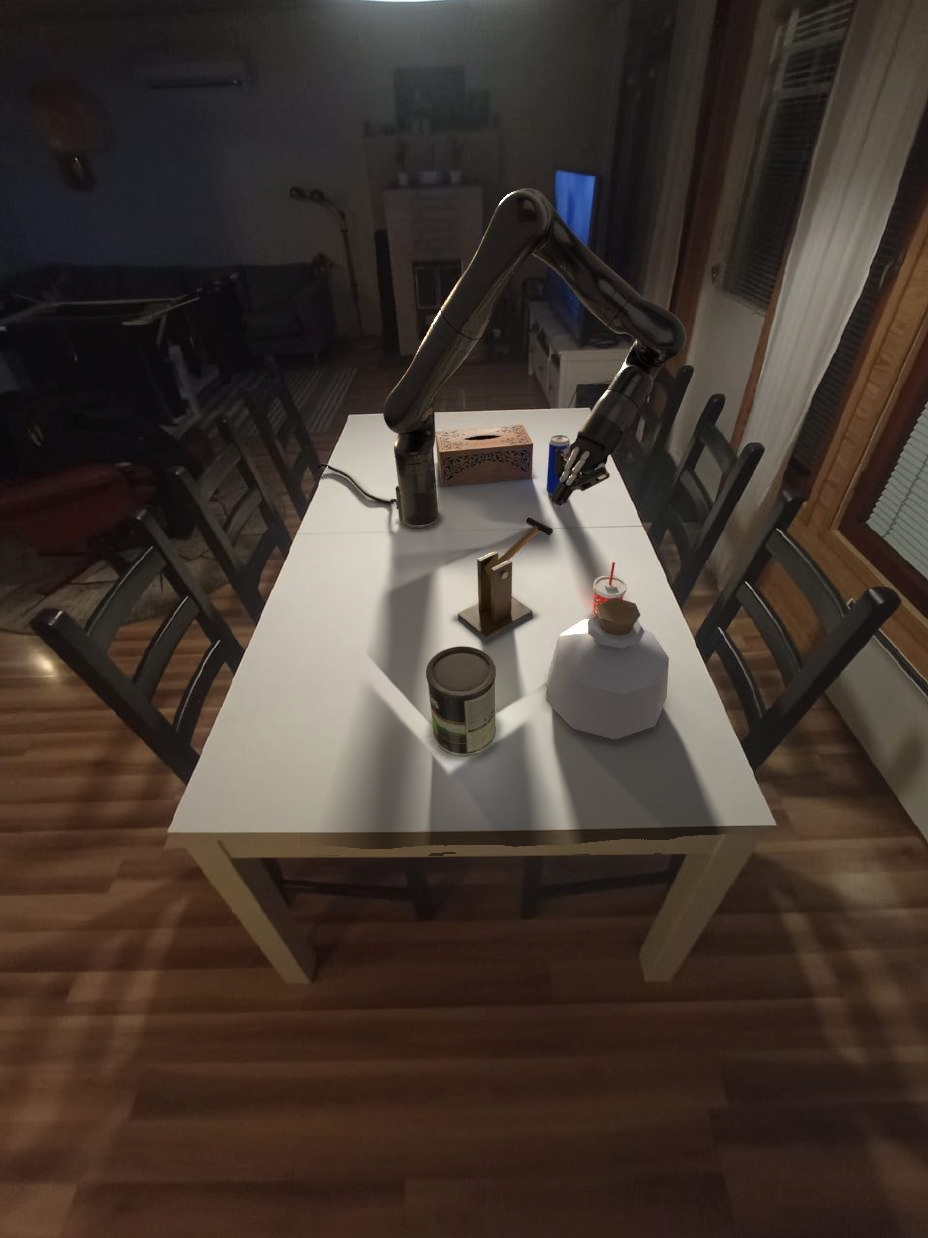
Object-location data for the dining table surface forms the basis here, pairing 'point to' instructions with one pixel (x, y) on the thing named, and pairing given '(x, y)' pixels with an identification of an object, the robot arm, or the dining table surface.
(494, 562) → the wooden lever handle
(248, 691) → the dining table surface
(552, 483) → the beverage can
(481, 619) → the lever base
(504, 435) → the tissue box cover
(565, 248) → the robot arm
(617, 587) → the beverage cup
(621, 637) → the bottle
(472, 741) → the coffee can
